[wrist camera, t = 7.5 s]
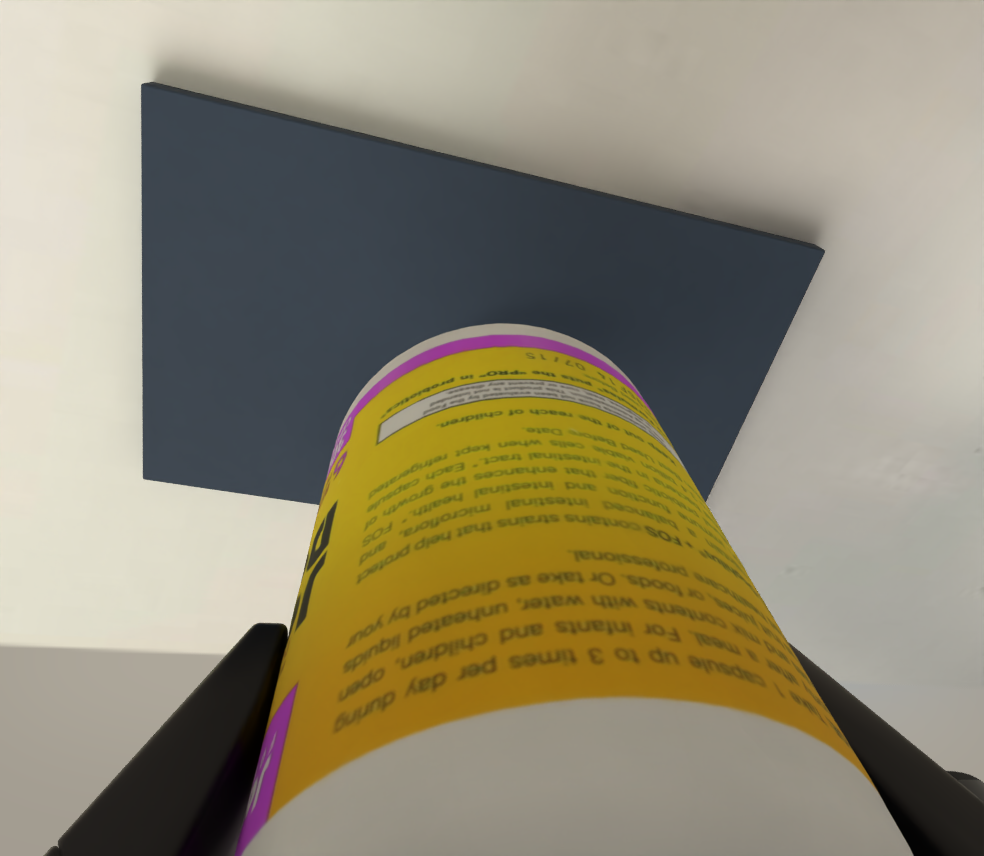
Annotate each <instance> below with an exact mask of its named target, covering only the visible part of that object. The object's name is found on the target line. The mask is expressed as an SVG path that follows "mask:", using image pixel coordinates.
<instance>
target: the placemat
mask: <svg viewBox="0 0 984 856" xmlns="http://www.w3.org/2000/svg"><path fill="white" fill-rule="evenodd" d="M141 139H142V369H143V479H146V480H153V481H159V482H166V483H173V484H180V485H187V486H194V487H200V488H207V489H214V490H221V491H228V492H235V493H241V494H248V495H255V496H262V497H269V498H276V499H283V500H289V501H296V502H303V503H310V504H317V505H320V501H321V497H322V493H323V489H324V485H325V481H326V478H327V474H328V470H329V465H330V461H331V457H332V453H333V450H334V447H335V443H336V440H337V437H338V433H339V430H340V428H341V425H342V422H343V420H344V418H345V416H346V414H347V412H348V410H349V408H350V407H351V405H352V403H353V402H354V400H355V399H356V397H357V396H358V394H359V393H360V392H361V390H362V389H363V388H364V387H365V385H366V384H367V383H368V382H369V380H370V379H372V378H373V377H374V376H375V375H376V374H377V373H378V372H379V371H380V370H381V369H382V368H383V367H384V366H385V365H386V364H388V363H389V362H390V361H392V360H393V359H394V358H395V357H397V356H399V355H400V354H402V353H404V352H405V351H407V350H408V349H410V348H412V347H413V346H415V345H417V344H419V343H421V342H423V341H425V340H427V339H430V338H432V337H435V336H438V335H440V334H443V333H446V332H450V331H454V330H458V329H461V328H465V327H470V326H478V325H485V324H497V323H502V324H521V325H529V326H534V327H540V328H545V329H549V330H552V331H555V332H558V333H561V334H564V335H567V336H569V337H572V338H574V339H576V340H578V341H581V342H582V343H584V344H586V345H588V346H590V347H592V348H594V349H595V350H596V351H598V352H599V353H601V354H602V355H604V356H605V357H607V358H608V359H609V360H610V361H612V362H613V363H614V364H615V365H616V366H617V367H618V368H619V369H620V370H621V371H622V372H623V373H624V374H625V375H626V376H627V377H628V378H629V379H630V381H631V382H632V383H633V385H634V386H635V387H636V389H637V390H638V392H639V393H640V395H641V396H642V398H643V399H644V400H645V402H646V403H647V405H648V406H649V407H650V409H651V411H652V412H653V414H654V416H655V417H656V419H657V421H658V423H659V424H660V426H661V428H662V429H663V431H664V433H665V434H666V436H667V438H668V439H669V441H670V442H671V444H672V446H673V448H674V450H675V451H676V453H677V455H678V457H679V458H680V460H681V462H682V464H683V465H684V467H685V469H686V470H687V472H688V474H689V476H690V477H691V479H692V481H693V482H694V484H695V486H696V487H697V489H698V491H699V493H700V494H701V496H702V498H703V499H704V501H705V502H706V500H707V498H708V496H709V494H710V492H711V490H712V488H713V486H714V483H715V481H716V479H717V477H718V475H719V473H720V471H721V469H722V467H723V465H724V462H725V460H726V458H727V456H728V454H729V452H730V450H731V448H732V446H733V444H734V442H735V439H736V437H737V435H738V433H739V431H740V429H741V427H742V425H743V423H744V421H745V418H746V416H747V414H748V412H749V410H750V408H751V406H752V404H753V402H754V400H755V398H756V395H757V393H758V391H759V389H760V387H761V385H762V383H763V381H764V379H765V377H766V374H767V372H768V370H769V368H770V366H771V364H772V362H773V360H774V358H775V356H776V354H777V351H778V349H779V347H780V345H781V343H782V341H783V339H784V337H785V335H786V333H787V330H788V328H789V326H790V324H791V322H792V320H793V318H794V316H795V314H796V312H797V310H798V307H799V305H800V303H801V301H802V299H803V297H804V295H805V293H806V291H807V289H808V286H809V284H810V282H811V280H812V278H813V276H814V274H815V272H816V270H817V268H818V266H819V263H820V261H821V259H822V257H823V255H824V253H825V250H824V249H822V248H820V247H818V246H816V245H815V244H811V243H807V242H803V241H799V240H795V239H791V238H787V237H783V236H779V235H774V234H770V233H766V232H762V231H758V230H754V229H750V228H746V227H742V226H738V225H734V224H730V223H726V222H721V221H717V220H713V219H709V218H705V217H701V216H697V215H693V214H689V213H685V212H681V211H677V210H673V209H668V208H664V207H660V206H656V205H652V204H648V203H644V202H640V201H636V200H632V199H628V198H624V197H620V196H615V195H611V194H607V193H603V192H599V191H595V190H591V189H587V188H583V187H579V186H575V185H571V184H567V183H562V182H558V181H554V180H550V179H546V178H542V177H538V176H534V175H530V174H526V173H522V172H518V171H514V170H509V169H505V168H501V167H497V166H493V165H489V164H485V163H481V162H477V161H473V160H469V159H465V158H461V157H456V156H452V155H448V154H444V153H440V152H436V151H432V150H428V149H424V148H420V147H416V146H412V145H407V144H403V143H399V142H395V141H391V140H387V139H383V138H379V137H375V136H371V135H367V134H363V133H359V132H354V131H350V130H346V129H342V128H338V127H334V126H330V125H326V124H322V123H318V122H314V121H310V120H306V119H301V118H297V117H293V116H289V115H285V114H281V113H277V112H273V111H269V110H265V109H261V108H257V107H253V106H248V105H244V104H240V103H236V102H232V101H228V100H224V99H220V98H216V97H212V96H208V95H204V94H200V93H195V92H191V91H187V90H183V89H179V88H175V87H171V86H167V85H163V84H159V83H155V82H149V83H144V84H142V85H141Z"/></svg>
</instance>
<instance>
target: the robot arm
mask: <svg viewBox="0 0 984 856" xmlns="http://www.w3.org/2000/svg"><path fill="white" fill-rule="evenodd" d="M287 641H288V631H287V627H286V626H285V625H284V624H280V623H257V624H255V625H253V626H252V627H251V628H250V629H249V631H248V632H247V633H246V634H245V635H244V636H243V637H242V638H241V639H240V640H239V642H238V643H237V644H236V645H235V646H234V647H233V648H232V649H231V650H230V651H229V653H228V654H227V655H226V656H225V657H224V658H223V659H222V660H221V661H220V663H219V664H218V665H217V666H216V667H215V668H214V669H213V670H212V671H211V672H210V674H209V675H208V676H207V677H206V678H205V679H204V680H203V681H202V682H201V683H200V685H199V686H198V687H197V688H196V689H195V690H194V691H193V692H192V693H191V695H190V696H189V697H188V698H187V699H186V700H185V701H184V702H183V704H181V705H180V707H179V708H178V709H177V710H176V711H175V712H174V713H173V714H172V715H171V717H170V718H169V719H168V720H167V721H166V722H165V723H164V724H163V726H161V728H160V729H159V730H158V731H157V732H156V733H155V734H154V735H153V737H151V739H150V740H149V741H148V742H147V743H146V744H145V745H144V746H143V747H142V748H141V750H140V751H139V752H138V753H137V754H136V755H135V756H134V757H133V758H132V760H131V761H130V762H129V763H128V764H127V765H126V766H125V767H124V768H123V769H122V771H121V772H120V773H119V774H118V775H117V776H116V777H115V778H114V779H113V780H112V782H111V783H110V784H109V785H108V786H107V787H106V788H105V789H104V790H103V791H102V793H101V794H100V795H99V796H98V797H97V798H96V799H95V800H94V801H93V802H92V804H91V805H90V806H89V807H88V808H87V809H86V810H85V811H84V812H83V813H82V815H81V816H80V817H79V818H78V819H77V820H76V821H75V822H74V823H73V824H72V826H71V827H70V828H69V829H68V830H67V831H66V832H65V833H64V834H63V835H62V837H61V838H60V839H59V840H58V846H59V848H58V847H57V846H53V847H51V848H50V849H49V850H48V852H47V853H46V854H45V855H44V856H234V855H235V851H236V847H237V843H238V839H239V835H240V831H241V827H242V823H243V819H244V815H245V812H246V808H247V804H248V800H249V796H250V792H251V788H252V784H253V780H254V776H255V772H256V768H257V764H258V760H259V756H260V752H261V747H262V743H263V739H264V735H265V730H266V726H267V722H268V718H269V714H270V709H271V705H272V701H273V697H274V693H275V689H276V684H277V680H278V676H279V672H280V667H281V662H282V658H283V655H284V652H285V649H286V645H287ZM789 645H790V647H791V649H792V650H793V652H794V654H795V655H796V657H797V659H798V660H799V662H800V664H801V665H802V667H803V669H804V671H805V672H806V674H807V676H808V677H809V679H810V681H811V682H812V684H813V686H814V687H815V689H816V691H817V693H818V694H819V696H820V697H821V699H822V701H823V702H824V704H825V706H826V707H827V709H828V710H829V712H830V714H831V715H832V717H833V719H834V720H835V722H836V723H837V725H838V727H839V728H840V730H841V732H842V733H843V735H844V736H845V738H846V740H847V741H848V743H849V745H850V746H851V748H852V749H853V751H854V753H855V754H856V756H857V758H858V759H859V761H860V762H861V764H862V766H863V767H864V769H865V770H866V772H867V774H868V775H869V777H870V779H871V781H872V782H873V784H874V786H875V788H876V789H877V791H878V793H879V795H880V796H881V798H882V800H883V802H884V804H885V805H886V807H887V809H888V811H889V813H890V814H891V816H892V818H893V819H894V821H895V823H896V825H897V826H898V828H899V830H900V832H901V833H902V835H903V837H904V839H905V840H906V842H907V844H908V845H909V847H910V849H911V851H912V854H913V856H984V802H983V801H982V800H981V799H979V798H978V797H977V796H976V795H974V794H973V793H972V792H971V791H970V790H968V789H967V788H966V787H965V786H963V785H962V784H961V783H960V782H959V781H957V780H956V779H955V778H954V777H952V776H951V775H950V774H949V773H948V772H946V771H945V770H944V769H943V768H941V767H940V766H939V765H938V764H937V763H935V762H934V761H933V760H932V759H930V758H929V757H928V756H927V755H926V754H924V753H923V752H922V751H921V750H919V749H918V748H917V747H916V746H915V745H913V744H912V743H911V742H910V741H908V740H907V739H906V738H905V737H904V736H902V735H901V734H900V733H899V732H897V731H896V730H895V729H894V728H893V727H891V726H890V725H888V723H886V722H885V721H884V720H883V719H882V718H880V717H879V716H878V715H876V714H875V713H874V712H873V711H872V710H871V709H869V708H868V707H867V706H866V705H864V704H863V703H862V702H861V701H860V700H858V699H857V698H856V697H855V696H853V695H852V694H851V693H850V692H849V691H847V690H846V689H845V688H844V687H842V686H841V685H840V684H839V683H838V682H836V681H835V680H834V679H833V678H831V677H830V676H829V675H828V674H827V673H825V672H824V671H823V670H822V669H820V668H819V667H818V666H817V665H816V664H814V663H813V662H812V661H811V660H809V659H808V658H807V657H806V656H805V655H803V654H802V653H801V652H800V651H798V650H797V649H796V648H795V647H794V646H792V645H791V644H790V643H789Z"/></svg>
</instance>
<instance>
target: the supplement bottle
mask: <svg viewBox="0 0 984 856" xmlns="http://www.w3.org/2000/svg"><path fill="white" fill-rule="evenodd" d="M234 856H913V854H912V851H911V849H910V847H909V845H908V844H907V842H906V840H905V839H904V837H903V835H902V833H901V832H900V830H899V828H898V826H897V825H896V823H895V821H894V819H893V818H892V816H891V814H890V813H889V811H888V809H887V807H886V805H885V804H884V802H883V800H882V798H881V796H880V795H879V793H878V791H877V789H876V788H875V786H874V784H873V782H872V781H871V779H870V777H869V775H868V774H867V772H866V770H865V769H864V767H863V766H862V764H861V762H860V761H859V759H858V758H857V756H856V754H855V753H854V751H853V749H852V748H851V746H850V745H849V743H848V741H847V740H846V738H845V736H844V735H843V733H842V732H841V730H840V728H839V727H838V725H837V723H836V722H835V720H834V719H833V717H832V715H831V714H830V712H829V710H828V709H827V707H826V706H825V704H824V702H823V701H822V699H821V697H820V696H819V694H818V693H817V691H816V689H815V687H814V686H813V684H812V682H811V681H810V679H809V677H808V676H807V674H806V672H805V671H804V669H803V667H802V665H801V664H800V662H799V660H798V659H797V657H796V655H795V654H794V652H793V650H792V649H791V647H790V645H789V643H788V642H787V640H786V638H785V637H784V635H783V633H782V632H781V630H780V628H779V626H778V625H777V623H776V621H775V620H774V618H773V616H772V615H771V613H770V611H769V610H768V608H767V606H766V605H765V603H764V601H763V600H762V598H761V596H760V595H759V593H758V591H757V590H756V588H755V586H754V585H753V583H752V581H751V579H750V578H749V576H748V574H747V572H746V570H745V568H744V567H743V565H742V563H741V562H740V560H739V559H738V557H737V555H736V554H735V552H734V551H733V549H732V547H731V546H730V544H729V542H728V540H727V539H726V537H725V535H724V534H723V532H722V530H721V528H720V527H719V525H718V523H717V521H716V520H715V518H714V516H713V514H712V513H711V511H710V510H709V508H708V506H707V505H706V503H705V501H704V499H703V498H702V496H701V494H700V493H699V491H698V489H697V487H696V486H695V484H694V482H693V481H692V479H691V477H690V476H689V474H688V472H687V470H686V469H685V467H684V465H683V464H682V462H681V460H680V458H679V457H678V455H677V453H676V451H675V450H674V448H673V446H672V444H671V442H670V441H669V439H668V438H667V436H666V434H665V433H664V431H663V429H662V428H661V426H660V424H659V423H658V421H657V419H656V417H655V416H654V414H653V412H652V411H651V409H650V407H649V406H648V405H647V403H646V402H645V400H644V399H643V398H642V396H641V395H640V393H639V392H638V390H637V389H636V387H635V386H634V385H633V383H632V382H631V381H630V379H629V378H628V377H627V376H626V375H625V374H624V373H623V372H622V371H621V370H620V369H619V368H618V367H617V366H616V365H615V364H614V363H613V362H612V361H610V360H609V359H608V358H607V357H605V356H604V355H602V354H601V353H599V352H598V351H596V350H595V349H594V348H592V347H590V346H588V345H586V344H584V343H582V342H581V341H578V340H576V339H574V338H572V337H569V336H567V335H564V334H561V333H558V332H555V331H552V330H549V329H545V328H540V327H534V326H529V325H521V324H502V323H497V324H485V325H478V326H470V327H465V328H461V329H458V330H454V331H450V332H446V333H443V334H440V335H438V336H435V337H432V338H430V339H427V340H425V341H423V342H421V343H419V344H417V345H415V346H413V347H412V348H410V349H408V350H407V351H405V352H404V353H402V354H400V355H399V356H397V357H395V358H394V359H393V360H392V361H390V362H389V363H388V364H386V365H385V366H384V367H383V368H382V369H381V370H380V371H379V372H378V373H377V374H376V375H375V376H374V377H373V378H372V379H370V380H369V382H368V383H367V384H366V385H365V387H364V388H363V389H362V390H361V392H360V393H359V394H358V396H357V397H356V399H355V400H354V402H353V403H352V405H351V407H350V408H349V410H348V412H347V414H346V416H345V418H344V420H343V422H342V425H341V428H340V430H339V433H338V437H337V440H336V443H335V447H334V450H333V453H332V457H331V461H330V465H329V470H328V474H327V478H326V481H325V485H324V489H323V493H322V497H321V501H320V505H319V510H318V514H317V518H316V522H315V526H314V530H313V534H312V538H311V542H310V547H309V551H308V555H307V559H306V564H305V568H304V573H303V577H302V581H301V585H300V589H299V593H298V597H297V600H296V604H295V608H294V613H293V617H292V621H291V626H290V631H289V636H288V641H287V645H286V649H285V652H284V655H283V658H282V662H281V667H280V672H279V676H278V680H277V684H276V689H275V693H274V697H273V701H272V705H271V709H270V714H269V718H268V722H267V726H266V730H265V735H264V739H263V743H262V747H261V752H260V756H259V760H258V764H257V768H256V772H255V776H254V780H253V784H252V788H251V792H250V796H249V800H248V804H247V808H246V812H245V815H244V819H243V823H242V827H241V831H240V835H239V839H238V843H237V847H236V851H235V855H234Z"/></svg>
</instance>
